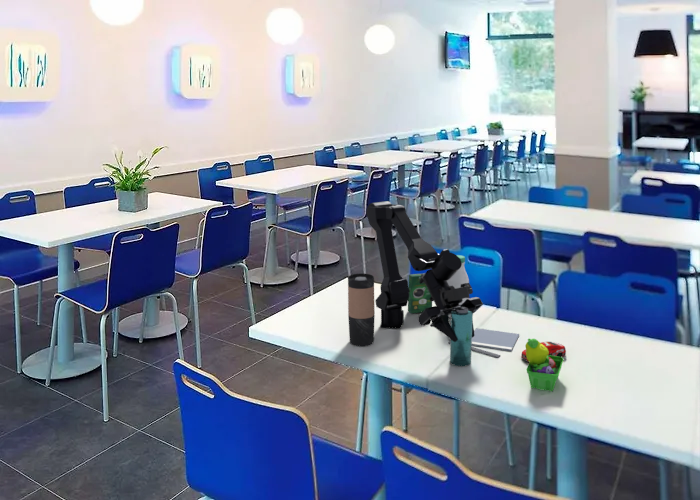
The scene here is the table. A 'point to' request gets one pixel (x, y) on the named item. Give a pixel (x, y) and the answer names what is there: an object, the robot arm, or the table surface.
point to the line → (483, 352)
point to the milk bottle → (459, 278)
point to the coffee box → (418, 295)
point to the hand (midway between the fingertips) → (464, 339)
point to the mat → (494, 339)
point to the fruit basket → (542, 366)
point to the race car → (550, 350)
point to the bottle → (461, 337)
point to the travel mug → (361, 309)
